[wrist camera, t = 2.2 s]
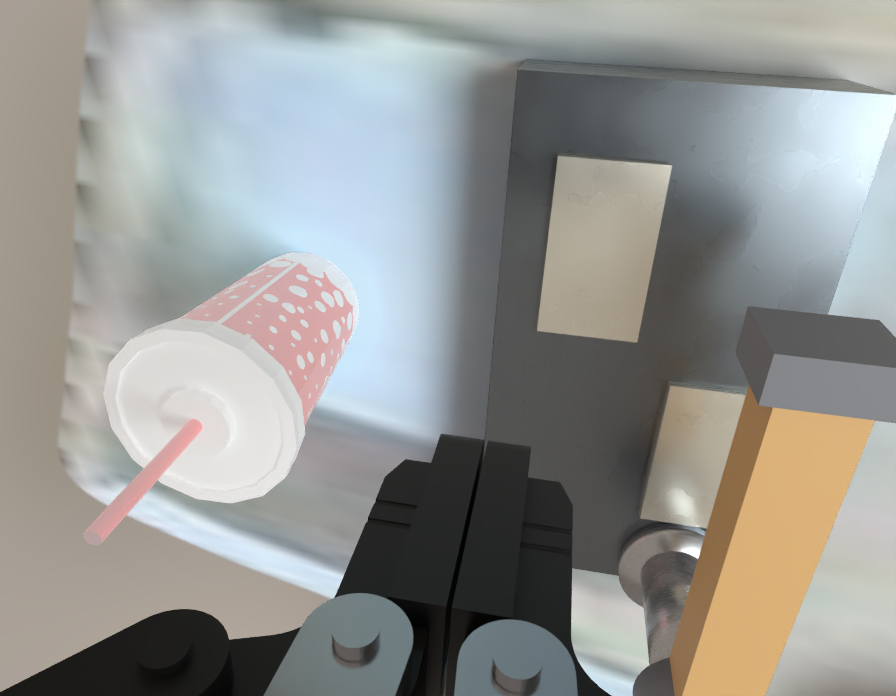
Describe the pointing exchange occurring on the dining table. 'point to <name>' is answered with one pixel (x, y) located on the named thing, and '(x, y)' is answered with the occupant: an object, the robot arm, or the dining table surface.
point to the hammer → (777, 495)
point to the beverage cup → (228, 384)
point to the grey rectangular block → (660, 286)
